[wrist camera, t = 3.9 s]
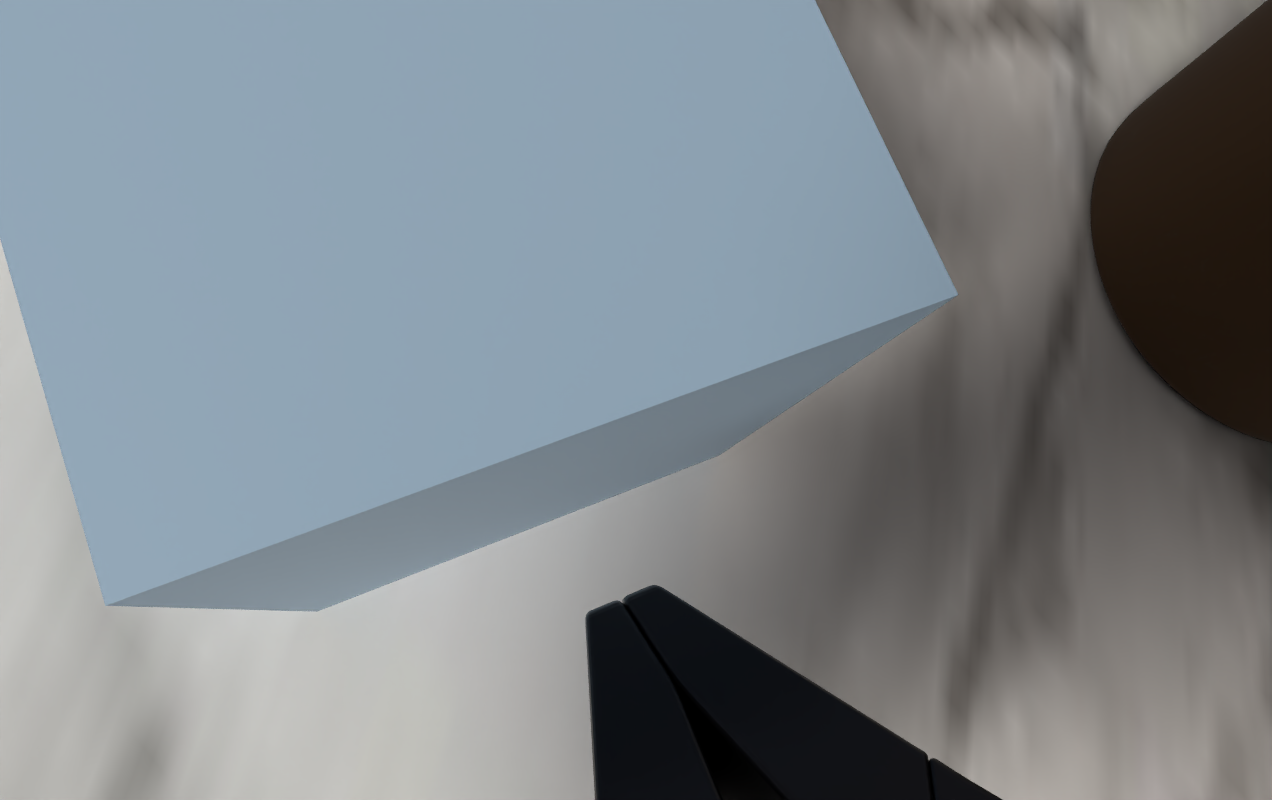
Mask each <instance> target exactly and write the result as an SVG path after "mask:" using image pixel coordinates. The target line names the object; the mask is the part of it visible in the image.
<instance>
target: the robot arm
mask: <svg viewBox="0 0 1272 800" xmlns="http://www.w3.org/2000/svg"><path fill="white" fill-rule="evenodd" d="M586 641H587V659H588V678H589V697H590V715H591V734H592V753H593V771H594V790H595V800H1002V799H1000V798H999V797H997V796H995V795H994V794H992V793H990V792H989V791H987V790H985V789H984V788H982V787H980V786H978V785H977V784H975V783H973V782H972V781H970V780H968V779H967V778H965V777H964V776H962V775H961V774H959V773H957V772H956V771H954V770H953V769H951V768H949V767H948V766H946V765H945V764H943V763H942V762H940V761H938V760H937V759H935V758H932V759H930V760H928V756H927V754H926V753H925V752H924V751H922V750H920V749H919V748H917V747H916V746H914V745H912V744H911V743H909V742H908V741H906V740H904V739H903V738H901V737H900V736H898V735H896V734H895V733H893V732H892V731H890V730H888V729H887V728H885V727H884V726H882V725H881V724H879V723H877V722H876V721H874V720H873V719H871V718H869V717H868V716H866V715H865V714H863V713H861V712H860V711H858V710H857V709H855V708H853V707H852V706H850V705H849V704H847V703H845V702H844V701H842V700H841V699H839V698H837V697H836V696H834V695H833V694H831V693H830V692H828V691H826V690H825V689H823V688H822V687H820V686H818V685H817V684H815V683H814V682H812V681H810V680H809V679H807V678H806V677H804V676H802V675H801V674H799V673H798V672H796V671H794V670H793V669H791V668H790V667H788V666H786V665H785V664H783V663H782V662H780V661H779V660H777V659H775V658H774V657H772V656H771V655H769V654H767V653H766V652H764V651H763V650H761V649H759V648H758V647H756V646H755V645H753V644H751V643H750V642H748V641H747V640H745V639H743V638H742V637H740V636H739V635H737V634H735V633H734V632H732V631H731V630H729V629H728V628H726V627H724V626H723V625H721V624H720V623H718V622H716V621H715V620H713V619H712V618H710V617H708V616H707V615H705V614H704V613H702V612H700V611H699V610H697V609H696V608H694V607H692V606H691V605H689V604H688V603H686V602H684V601H683V600H681V599H680V598H678V597H677V596H675V595H673V594H672V593H670V592H669V591H667V590H665V589H664V588H662V587H660V586H657V585H652V586H648V587H646V588H644V589H641V590H639V591H637V592H634V593H632V594H629V595H627V596H626V597H625V598H624V599H623V602H622V603H621V602H620V601H613V602H610V603H608V604H606V605H603V606H601V607H598V608H596V609H594V610H591V611H589V612H588V613H587V615H586Z"/></svg>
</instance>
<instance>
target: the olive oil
mask: <svg viewBox="0 0 1272 800" xmlns="http://www.w3.org/2000/svg"><path fill="white" fill-rule="evenodd" d="M1091 231H1092V240H1093V247H1094V252H1095V257H1096V262H1097V266H1098V270H1099V273H1100V276H1101V280H1102V282H1103V285H1104V288H1105V291H1106V293H1107V296H1108V298H1109V300H1110V303H1111V305H1112V307H1113V309H1114V311H1115V313H1116V315H1117V317H1118V319H1119V321H1120V323H1121V324H1122V326H1123V328H1124V329H1125V331H1126V333H1127V334H1128V336H1129V337H1130V339H1131V340H1132V342H1133V343H1134V345H1135V346H1136V347H1137V349H1138V350H1139V352H1140V353H1141V354H1142V355H1143V357H1144V358H1145V359H1146V360H1147V362H1148V363H1149V364H1150V365H1151V366H1152V367H1153V369H1154V370H1155V371H1156V372H1157V373H1158V374H1159V375H1160V376H1161V377H1162V378H1163V379H1164V380H1165V381H1166V382H1167V383H1168V384H1169V385H1170V386H1171V387H1172V388H1173V389H1175V390H1176V391H1177V392H1178V393H1179V394H1180V395H1181V396H1183V397H1184V398H1185V399H1186V400H1188V401H1189V402H1190V403H1191V404H1193V405H1194V406H1196V407H1197V408H1198V409H1200V410H1201V411H1203V412H1204V413H1206V414H1207V415H1209V416H1210V417H1212V418H1214V419H1216V420H1217V421H1219V422H1221V423H1223V424H1225V425H1227V426H1229V427H1231V428H1233V429H1235V430H1237V431H1239V432H1242V433H1244V434H1247V435H1249V436H1252V437H1255V438H1258V439H1261V440H1265V441H1269V442H1272V0H1267V1H1266V2H1265V3H1264V4H1262V5H1261V6H1260V7H1259V8H1257V9H1256V10H1255V11H1254V12H1253V13H1251V14H1250V15H1249V16H1248V17H1246V18H1245V19H1244V20H1243V21H1242V22H1240V23H1239V24H1238V25H1237V26H1235V27H1234V28H1233V29H1232V30H1231V31H1229V32H1228V33H1227V34H1226V35H1225V36H1223V37H1222V38H1221V39H1220V40H1218V41H1217V42H1216V43H1215V44H1214V45H1212V46H1211V47H1210V48H1209V49H1207V50H1206V51H1205V52H1204V53H1203V54H1201V55H1200V56H1199V57H1198V58H1196V59H1195V60H1194V61H1193V62H1192V63H1190V64H1189V65H1188V66H1187V67H1185V68H1184V69H1183V70H1182V71H1181V72H1179V73H1178V74H1177V75H1176V76H1175V77H1173V78H1172V79H1171V80H1170V81H1168V82H1167V83H1166V84H1165V85H1164V86H1162V87H1161V88H1160V89H1159V90H1158V91H1156V92H1155V93H1154V94H1153V95H1152V96H1150V97H1149V98H1148V99H1147V100H1146V101H1145V102H1143V103H1142V104H1141V105H1140V106H1139V107H1138V108H1137V109H1136V110H1134V111H1133V112H1132V113H1131V114H1130V115H1129V116H1128V117H1127V119H1126V120H1125V121H1124V122H1123V123H1122V124H1121V126H1120V127H1119V128H1118V129H1117V131H1116V132H1115V133H1114V135H1113V136H1112V138H1111V140H1110V141H1109V143H1108V145H1107V147H1106V149H1105V151H1104V153H1103V155H1102V157H1101V160H1100V163H1099V165H1098V168H1097V172H1096V176H1095V180H1094V185H1093V191H1092V199H1091Z"/></svg>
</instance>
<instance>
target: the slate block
mask: <svg viewBox="0 0 1272 800" xmlns="http://www.w3.org/2000/svg"><path fill="white" fill-rule="evenodd" d="M0 240H1V243H2V247H3V250H4V253H5V257H6V260H7V264H8V267H9V271H10V274H11V278H12V281H13V285H14V288H15V292H16V295H17V299H18V302H19V306H20V309H21V313H22V316H23V320H24V323H25V327H26V330H27V334H28V337H29V341H30V344H31V348H32V351H33V355H34V358H35V362H36V365H37V369H38V372H39V376H40V379H41V383H42V386H43V390H44V393H45V396H46V400H47V403H48V407H49V410H50V414H51V417H52V421H53V424H54V428H55V431H56V435H57V438H58V442H59V445H60V449H61V452H62V456H63V459H64V463H65V466H66V470H67V473H68V477H69V480H70V484H71V487H72V491H73V494H74V498H75V501H76V505H77V508H78V512H79V515H80V519H81V522H82V526H83V529H84V533H85V536H86V539H87V543H88V546H89V550H90V553H91V557H92V560H93V564H94V567H95V571H96V574H97V578H98V581H99V585H100V588H101V592H102V595H103V599H104V602H105V606H136V607H172V608H208V609H245V610H281V611H319V610H322V609H325V608H327V607H330V606H332V605H335V604H338V603H340V602H343V601H345V600H348V599H350V598H353V597H356V596H358V595H361V594H363V593H366V592H368V591H371V590H374V589H376V588H379V587H381V586H384V585H386V584H389V583H392V582H394V581H397V580H399V579H402V578H404V577H407V576H410V575H412V574H415V573H417V572H420V571H422V570H425V569H428V568H430V567H433V566H435V565H438V564H440V563H443V562H446V561H448V560H451V559H453V558H456V557H458V556H461V555H464V554H466V553H469V552H471V551H474V550H476V549H479V548H482V547H484V546H487V545H489V544H492V543H495V542H497V541H500V540H502V539H505V538H507V537H510V536H513V535H515V534H518V533H520V532H523V531H525V530H528V529H531V528H533V527H536V526H538V525H541V524H543V523H546V522H549V521H551V520H554V519H556V518H559V517H561V516H564V515H567V514H569V513H572V512H574V511H577V510H579V509H582V508H585V507H587V506H590V505H592V504H595V503H597V502H600V501H603V500H605V499H608V498H610V497H613V496H615V495H618V494H621V493H623V492H626V491H628V490H631V489H633V488H636V487H639V486H641V485H644V484H646V483H649V482H652V481H654V480H657V479H659V478H662V477H664V476H667V475H670V474H672V473H675V472H677V471H680V470H682V469H685V468H688V467H690V466H693V465H695V464H698V463H700V462H703V461H706V460H708V459H711V458H713V457H716V456H718V455H720V454H722V453H723V452H725V451H726V450H728V449H729V448H731V447H732V446H734V445H735V444H737V443H738V442H740V441H741V440H743V439H744V438H746V437H747V436H749V435H750V434H752V433H753V432H755V431H756V430H758V429H759V428H760V427H762V426H763V425H765V424H766V423H768V422H769V421H771V420H772V419H774V418H775V417H777V416H778V415H780V414H781V413H783V412H784V411H786V410H787V409H789V408H790V407H792V406H793V405H795V404H796V403H798V402H799V401H801V400H802V399H804V398H805V397H807V396H808V395H810V394H811V393H813V392H814V391H816V390H817V389H819V388H820V387H822V386H823V385H825V384H826V383H828V382H829V381H831V380H832V379H834V378H835V377H837V376H838V375H840V374H841V373H843V372H844V371H846V370H847V369H848V368H850V367H851V366H853V365H854V364H856V363H857V362H859V361H860V360H862V359H863V358H865V357H866V356H868V355H869V354H871V353H872V352H874V351H875V350H877V349H878V348H880V347H881V346H883V345H884V344H886V343H887V342H889V341H890V340H892V339H893V338H895V337H896V336H898V335H899V334H901V333H902V332H904V331H905V330H907V329H908V328H910V327H911V326H913V325H914V324H916V323H917V322H919V321H920V320H922V319H923V318H925V317H926V316H928V315H929V314H931V313H932V312H934V311H935V310H936V309H938V308H939V307H941V306H942V305H944V304H945V303H947V302H948V301H950V300H951V299H953V298H954V297H956V296H957V295H958V293H957V291H956V289H955V287H954V285H953V283H952V281H951V279H950V276H949V274H948V272H947V270H946V268H945V266H944V264H943V262H942V260H941V258H940V256H939V254H938V252H937V250H936V248H935V246H934V244H933V242H932V239H931V237H930V235H929V233H928V231H927V229H926V227H925V225H924V223H923V221H922V219H921V217H920V215H919V213H918V211H917V209H916V207H915V205H914V203H913V200H912V198H911V196H910V194H909V192H908V190H907V188H906V186H905V184H904V182H903V180H902V178H901V176H900V174H899V172H898V170H897V168H896V166H895V164H894V161H893V159H892V157H891V155H890V153H889V151H888V149H887V147H886V145H885V143H884V141H883V139H882V137H881V135H880V133H879V131H878V129H877V127H876V124H875V122H874V120H873V118H872V116H871V114H870V112H869V110H868V108H867V106H866V104H865V102H864V100H863V98H862V96H861V94H860V92H859V90H858V88H857V85H856V83H855V81H854V79H853V77H852V75H851V73H850V71H849V69H848V67H847V65H846V63H845V61H844V59H843V57H842V55H841V53H840V51H839V49H838V46H837V44H836V42H835V40H834V38H833V36H832V34H831V32H830V30H829V28H828V26H827V24H826V22H825V20H824V18H823V16H822V14H821V12H820V9H819V7H818V5H817V3H816V1H815V0H0Z"/></svg>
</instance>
